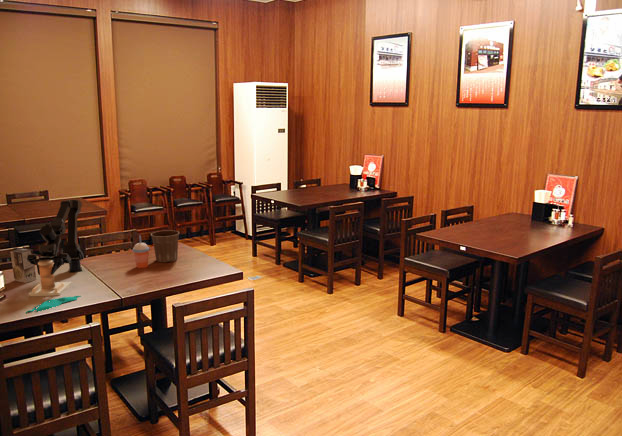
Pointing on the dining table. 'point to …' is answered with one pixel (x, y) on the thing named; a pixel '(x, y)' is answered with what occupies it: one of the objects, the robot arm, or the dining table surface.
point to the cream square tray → (58, 291)
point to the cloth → (53, 303)
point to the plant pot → (165, 245)
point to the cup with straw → (141, 254)
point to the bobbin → (46, 275)
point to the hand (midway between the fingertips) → (45, 274)
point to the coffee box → (22, 265)
